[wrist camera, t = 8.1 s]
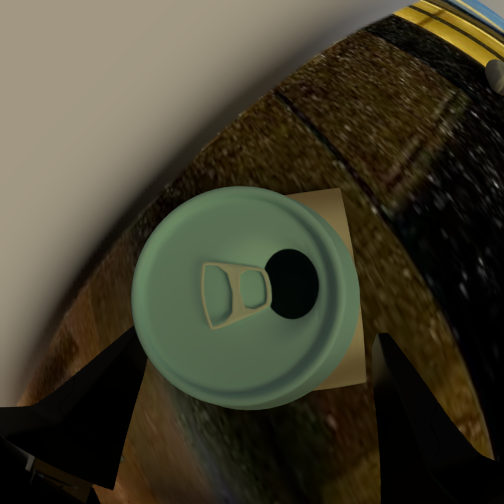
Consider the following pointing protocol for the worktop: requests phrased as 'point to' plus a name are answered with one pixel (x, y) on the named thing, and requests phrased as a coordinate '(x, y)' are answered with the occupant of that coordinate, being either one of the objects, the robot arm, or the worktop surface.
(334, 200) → the beige wooden slab
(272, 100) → the worktop surface
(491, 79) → the grey pumpkin
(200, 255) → the can
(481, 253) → the worktop surface
